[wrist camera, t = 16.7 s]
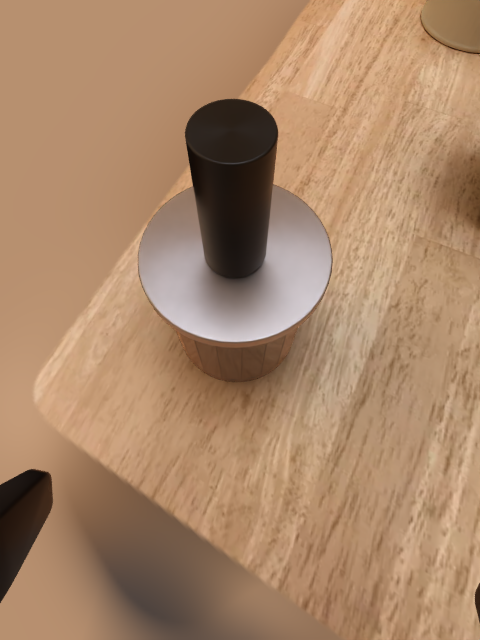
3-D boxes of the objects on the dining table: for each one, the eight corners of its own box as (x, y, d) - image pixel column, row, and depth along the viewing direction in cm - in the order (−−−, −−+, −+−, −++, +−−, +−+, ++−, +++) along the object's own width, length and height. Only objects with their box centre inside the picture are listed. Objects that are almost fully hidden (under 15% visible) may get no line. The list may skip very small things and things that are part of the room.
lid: (365, 302, 16) (442, 187, 10) (179, 380, 15) (134, 304, 8) (278, 165, 19) (295, 13, 13) (117, 220, 18) (52, 80, 12)
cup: (243, 407, 22) (244, 369, 15) (156, 332, 23) (121, 267, 17) (317, 320, 24) (348, 252, 17) (231, 258, 26) (228, 173, 19)
